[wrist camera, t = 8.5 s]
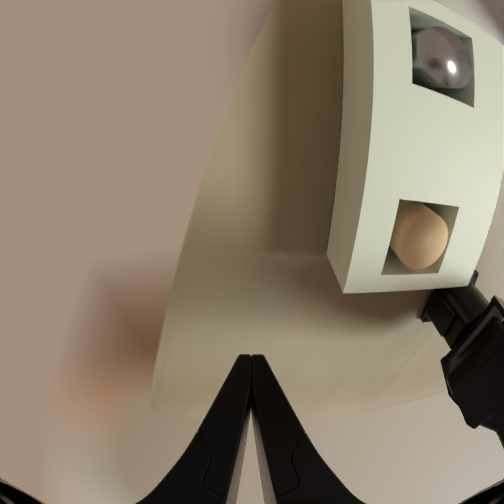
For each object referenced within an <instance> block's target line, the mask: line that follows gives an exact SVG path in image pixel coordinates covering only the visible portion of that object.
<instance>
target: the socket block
mask: <svg viewBox="0 0 504 504" xmlns="http://www.w3.org/2000/svg"><path fill="white" fill-rule="evenodd" d="M342 11H343V40H344V74H343V105H342V123H341V138H340V150H339V162H338V172H337V181H336V190H335V198H334V206H333V214H332V221H331V228H330V235H329V241H328V248H327V254H326V255H327V257H328V260H329V262H330V264H331V266H332V269H333V271H334V273H335V275H336V278H337V280H338V282H339V285H340V287H341V289H342V292H343V294H345V293H371V292H392V291H409V290H424V289H437V288H450V287H461V286H468V284H469V281H470V279H471V277H472V274H473V272H474V270H475V267H476V265H477V262H478V260H479V257H480V254H481V252H482V249H483V246H484V243H485V240H486V237H487V234H488V231H489V228H490V224H491V221H492V218H493V214H494V210H495V207H496V203H497V199H498V194H499V190H500V185H501V180H502V175H503V170H504V45H503V44H501V43H500V42H499V41H497V40H496V39H495V38H493V37H492V36H491V35H489V34H488V33H486V32H485V31H484V30H482V29H481V28H479V27H478V26H476V25H475V24H473V23H472V22H470V21H468V20H467V19H465V18H463V17H462V16H460V15H458V14H457V13H455V12H453V11H451V10H450V9H448V8H446V7H444V6H442V5H440V4H438V3H436V2H434V1H432V0H343V1H342ZM434 26H441V27H445V28H447V29H449V30H450V31H452V32H453V33H454V34H456V35H457V36H458V37H459V39H460V40H461V41H462V42H463V44H464V45H465V47H466V49H467V51H468V53H469V56H470V59H471V64H472V75H471V79H470V81H469V83H468V84H467V85H466V86H465V87H463V88H459V89H456V88H433V91H432V90H429V89H427V88H424V87H421V86H418V85H415V84H412V42H411V33H414V32H417V31H420V30H423V29H427V28H430V27H434ZM399 199H402V200H411V201H419V202H421V203H422V204H424V205H425V206H426V207H428V208H429V209H431V210H432V211H433V212H435V213H436V214H437V215H438V216H440V217H441V218H442V219H443V220H444V221H445V223H446V225H447V229H448V239H447V243H446V246H445V249H444V251H443V252H442V254H441V255H440V257H439V258H438V259H437V260H436V261H435V262H434V263H433V264H431V265H430V266H428V267H426V268H424V269H420V270H413V269H409V268H408V267H406V266H405V265H404V264H403V263H402V261H401V260H400V259H399V258H398V256H397V255H396V254H395V253H394V251H393V250H392V249H391V248H390V247H389V243H390V239H391V235H392V231H393V227H394V223H395V218H396V214H397V209H398V204H399Z"/></svg>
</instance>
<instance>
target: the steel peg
mask: <svg viewBox="0 0 504 504" xmlns="http://www.w3.org/2000/svg"><path fill="white" fill-rule="evenodd" d="M411 42H412V84H415V85H418V86H421V87H424V88H456V89H459V88H463V87H465V86H466V85H467V84H468V83H469V81H470V79H471V75H472V64H471V59H470V56H469V53H468V51H467V49H466V47H465V45H464V44H463V42H462V41H461V40H460V39H459V37H458V36H457V35H456V34H454V33H453V32H452V31H450V30H449V29H447V28H445V27H441V26H434V27H430V28H427V29H423V30H420V31H417V32H414V33H411Z"/></svg>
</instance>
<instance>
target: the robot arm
mask: <svg viewBox="0 0 504 504" xmlns="http://www.w3.org/2000/svg"><path fill="white" fill-rule="evenodd" d="M478 275H479V273H478V272H477V271H476V270H474V272H473V274H472V277H471V279H470V281H469V284H468V286H461V287H450V288H437V289H433V291H432V294H431V296H430V298H429V301H428V303H427V305H426V307H425V309H424V312H423V314H422V316H421V321H422V322H430V321H432V322H433V324H434V325H435V327H436V329H437V330H438V332H439V334H440V335H441V336H443V337H444V339H445V340H446V342H447V344H448V345H449V347H450V349H451V351H450V352H449V353H448V354H447V355H446V356H444V357H443V358H442V359H441V360H440V361H441V365H442V369H443V373H444V377H445V381H446V385H447V389H448V394H449V396H450V397H451V398H452V400H453V401H454V402H455V403H456V404H457V405H458V406H459V408H460V410H461V412H462V414H463V416H464V419H465V422H466V424H467V425H468V426H470V427H472V428H474V429H475V428H477V427H478V426H479V425H481V426H483V427H485V428H488V429H490V430H493V431H495V432H496V433H497V435H498V436H499V438H500V441H501V443H502V446H503V448H504V320H503V318H504V301H503V300H501V299H500V298H498V297H497V296H495V295H494V296H493V298H492V299H491V302H490V303H489V302H488V301H487V300H486V298H485V297H484V296H483V295H482V294H481V292H480V291H479V290H478V289H477V288H476V287H475V285H474V284H475V282H476V280H477V278H478ZM502 320H503V321H502ZM250 412H251V414H252V422H253V429H254V436H255V442H256V450H257V457H258V462H259V470H260V476H261V483H262V489H263V495H264V502H265V504H366V503H364V502H362V501H361V500H359V499H358V498H357V497H355V496H354V495H353V494H352V493H351V492H350V491H349V490H348V489H347V488H346V487H345V486H344V484H343V483H342V482H341V481H340V480H339V479H338V478H337V476H336V475H335V474H334V473H333V471H332V470H331V469H330V468H329V467H328V465H327V464H326V463H325V461H324V460H323V459H322V458H321V456H320V455H319V454H318V452H317V450H316V449H315V447H314V446H313V444H312V442H311V441H310V439H309V437H308V435H307V434H306V433H305V431H304V429H303V427H302V425H301V423H300V421H299V420H298V418H297V416H296V414H295V412H294V411H293V409H292V407H291V405H290V403H289V401H288V400H287V398H286V396H285V394H284V392H283V390H282V389H281V387H280V385H279V383H278V381H277V379H276V377H275V375H274V373H273V372H272V370H271V368H270V366H269V364H268V362H267V360H266V358H265V356H264V355H262V354H253V355H252V356H251V355H249V354H240V355H239V356H238V358H237V359H236V361H235V363H234V365H233V367H232V369H231V371H230V373H229V374H228V376H227V378H226V380H225V382H224V384H223V386H222V387H221V389H220V391H219V393H218V395H217V397H216V398H215V400H214V402H213V404H212V406H211V408H210V409H209V411H208V413H207V415H206V416H205V418H204V420H203V422H202V424H201V426H200V427H199V429H198V432H197V433H196V434H195V436H194V437H193V439H192V441H191V442H190V444H189V446H188V447H187V449H186V450H185V452H184V453H183V455H182V456H181V457H180V459H179V460H178V461H177V463H176V464H175V465H174V466H173V468H172V469H171V470H170V471H169V472H168V473H167V475H166V476H165V477H164V478H163V479H162V481H161V482H160V483H159V484H158V485H157V487H155V489H154V490H153V491H152V492H150V493H149V494H148V495H147V496H146V497H145V498H143V499H142V500H140V501H139V502H137V503H136V504H236V500H237V494H238V488H239V482H240V477H241V471H242V464H243V458H244V451H245V446H246V439H247V432H248V426H249V419H250ZM0 504H45V503H43V502H42V501H40V500H38V499H37V498H35V497H33V496H31V495H29V494H28V493H26V492H24V491H23V490H21V489H19V488H17V487H15V486H13V485H12V484H9V483H8V482H6V481H4V480H2V479H1V478H0ZM459 504H504V479H503V480H501V481H499V482H497V483H495V484H494V485H492V486H490V487H488V488H486V489H484V490H482V491H480V492H478V493H476V494H475V495H473V496H471V497H469V498H467V499H465V500H464V501H462V502H461V503H459Z"/></svg>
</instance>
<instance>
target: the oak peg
mask: <svg viewBox="0 0 504 504" xmlns="http://www.w3.org/2000/svg"><path fill="white" fill-rule="evenodd" d="M447 239H448V229H447V225H446V223H445V221H444V220H443V219H442V218H441V217H440V216H438V215H437V214H436V213H435V212H433V211H432V210H431V209H429V208H428V207H426V206H425V205H424V204H422V203H421V202H419V201H411V200H402V199H399V204H398V209H397V214H396V218H395V223H394V227H393V231H392V235H391V239H390V243H389V247H390V248H391V249H392V250H393V251H394V253H395V254H396V255H397V256H398V258H399V259H400V260H401V261H402V263H403V264H404V265H405V266H406V267H408V268H409V269H413V270H420V269H424V268H426V267H428V266H430V265H431V264H433V263H434V262H435V261H436V260H437V259H438V258H439V257H440V255H441V254H442V252H443V251H444V249H445V246H446V243H447Z"/></svg>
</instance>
